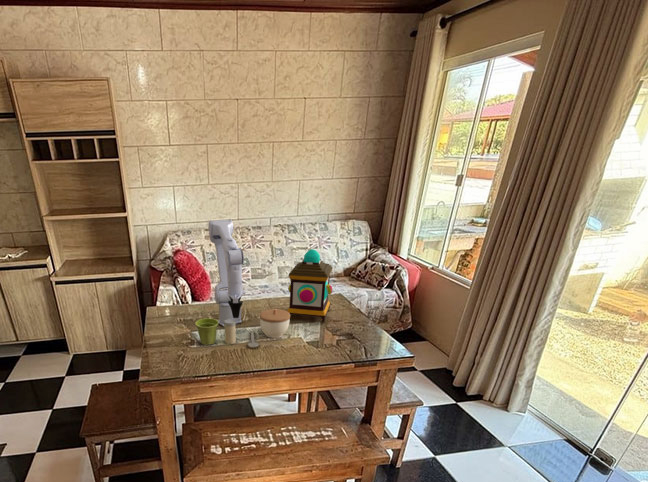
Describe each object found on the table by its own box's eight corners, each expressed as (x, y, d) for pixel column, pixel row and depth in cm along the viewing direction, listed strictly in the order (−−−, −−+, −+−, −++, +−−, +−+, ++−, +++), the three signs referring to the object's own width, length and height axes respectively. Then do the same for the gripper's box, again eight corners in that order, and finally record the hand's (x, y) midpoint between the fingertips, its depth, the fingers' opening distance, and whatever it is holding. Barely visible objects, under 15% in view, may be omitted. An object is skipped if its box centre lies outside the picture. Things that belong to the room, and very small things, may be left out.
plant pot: (222, 338, 170) (221, 319, 165) (214, 348, 162) (213, 328, 158) (202, 336, 173) (200, 317, 168) (193, 345, 165) (191, 325, 161)
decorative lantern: (291, 305, 201) (294, 243, 186) (332, 309, 195) (338, 245, 180) (282, 320, 185) (284, 253, 170) (326, 324, 179) (333, 255, 164)
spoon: (247, 333, 174) (247, 331, 173) (257, 332, 174) (257, 331, 173) (247, 348, 161) (247, 346, 160) (259, 348, 160) (259, 346, 160)
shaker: (232, 338, 170) (232, 318, 165) (238, 342, 166) (237, 321, 162) (223, 340, 168) (222, 320, 163) (228, 344, 164) (227, 324, 160)
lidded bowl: (293, 330, 174) (294, 306, 169) (284, 342, 164) (284, 316, 159) (265, 327, 179) (265, 303, 174) (255, 338, 169) (254, 313, 164)
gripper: (245, 286, 152) (246, 320, 159) (244, 275, 165) (245, 307, 171) (226, 287, 152) (228, 321, 159) (227, 276, 165) (228, 308, 171)
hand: (235, 314), depth 165 cm, fingers open, 7 cm apart
